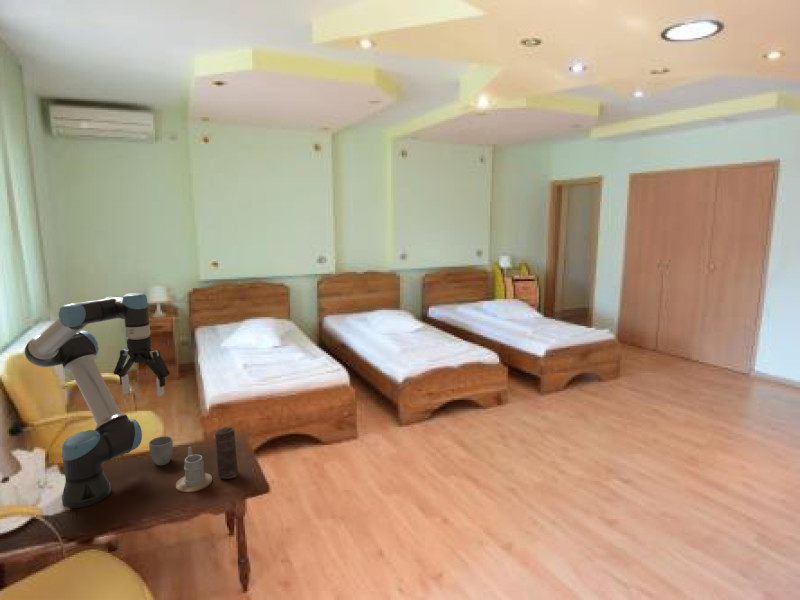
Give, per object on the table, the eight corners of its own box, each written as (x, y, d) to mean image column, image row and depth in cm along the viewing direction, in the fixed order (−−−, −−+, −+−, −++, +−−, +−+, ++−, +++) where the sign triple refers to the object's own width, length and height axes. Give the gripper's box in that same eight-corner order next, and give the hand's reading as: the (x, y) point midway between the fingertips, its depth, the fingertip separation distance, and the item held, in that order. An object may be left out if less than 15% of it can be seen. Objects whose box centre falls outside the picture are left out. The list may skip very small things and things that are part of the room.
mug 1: (176, 463, 201) (174, 441, 199) (152, 469, 195) (150, 447, 194) (170, 452, 210) (168, 431, 208) (147, 457, 205) (145, 436, 203)
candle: (222, 483, 186) (218, 435, 182) (214, 475, 191) (211, 428, 188) (241, 476, 191) (238, 429, 187) (233, 469, 196) (230, 423, 193)
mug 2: (187, 489, 180) (184, 460, 178) (180, 476, 190) (178, 447, 188) (208, 483, 185) (206, 454, 182) (200, 470, 194) (198, 442, 192)
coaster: (168, 490, 181) (168, 489, 180) (188, 472, 193) (187, 471, 193) (200, 493, 179) (200, 492, 179) (218, 475, 192) (218, 473, 191)
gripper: (98, 338, 167) (104, 395, 171) (164, 341, 164) (169, 399, 168) (113, 333, 175) (119, 388, 178) (177, 335, 172) (181, 392, 175)
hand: (143, 394), depth 173 cm, fingers open, 13 cm apart
